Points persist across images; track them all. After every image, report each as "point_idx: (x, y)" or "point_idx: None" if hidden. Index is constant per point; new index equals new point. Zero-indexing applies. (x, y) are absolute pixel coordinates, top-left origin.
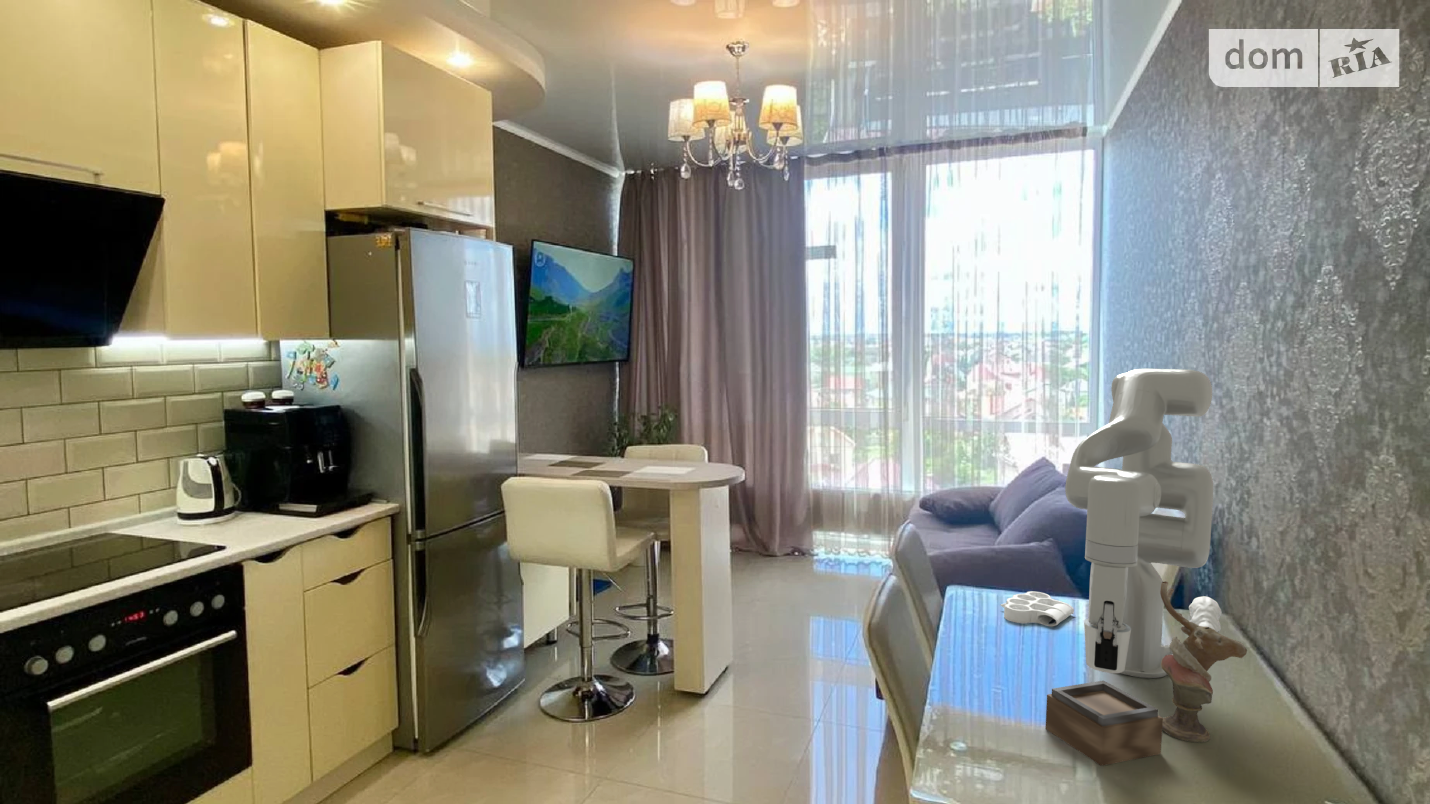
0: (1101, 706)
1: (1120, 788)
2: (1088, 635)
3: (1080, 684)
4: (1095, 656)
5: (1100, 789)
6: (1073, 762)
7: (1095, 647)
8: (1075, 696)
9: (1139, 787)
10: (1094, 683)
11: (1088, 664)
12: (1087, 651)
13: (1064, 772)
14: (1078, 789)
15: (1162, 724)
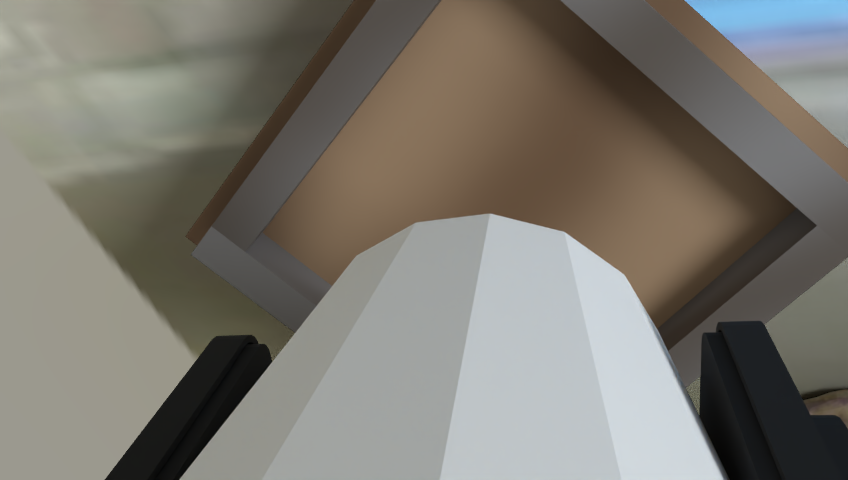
0: (495, 211)
1: (135, 242)
2: (202, 461)
3: (706, 66)
4: (169, 400)
5: (71, 175)
6: (214, 48)
7: (117, 470)
8: (571, 35)
9: (193, 303)
10: (788, 164)
11: (376, 249)
12: (341, 303)
13: (95, 23)
14: (5, 97)
15: (825, 411)
